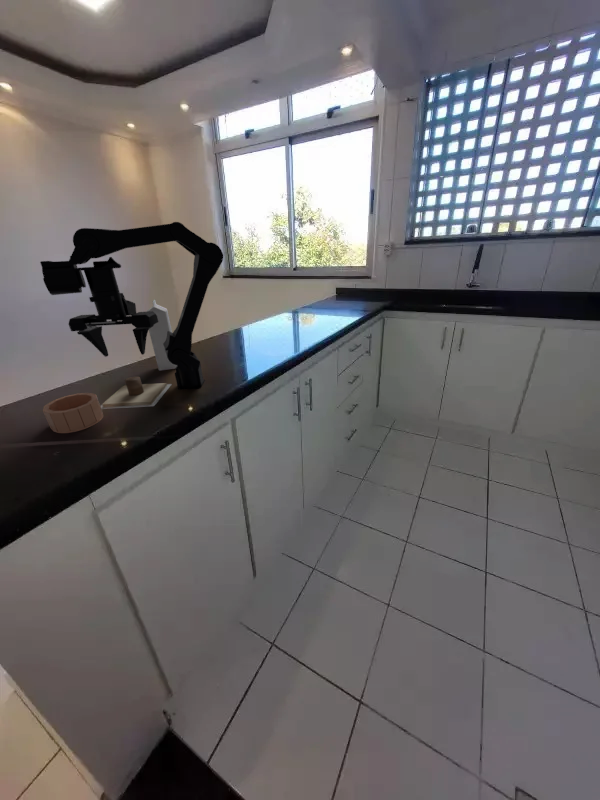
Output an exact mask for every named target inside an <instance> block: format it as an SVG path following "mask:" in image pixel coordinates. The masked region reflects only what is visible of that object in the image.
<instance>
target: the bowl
mask: <svg viewBox="0 0 600 800" xmlns="http://www.w3.org/2000/svg"><path fill="white" fill-rule="evenodd" d="M42 412H43V414H44V417H45V419H46V421H47V423H48V425H49V427H50V429H51V430H52V431H53V432H54V433H58V434H69V433H75V432H79V431H83V430H85V429H88V428H90V427H93V426H94V425H96V424H97V423H99V422H101V420H103V418H104V413H103V409H101V404H100V402H99V399H98V396H97V394H96V393H91V392H82V393H81V392H79V393H74V394H69V395H65V396H61V397H59V398H57V399H54V400H51V401H50V402H48V403H47V404H45V405H44V406H43V409H42Z"/></svg>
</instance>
